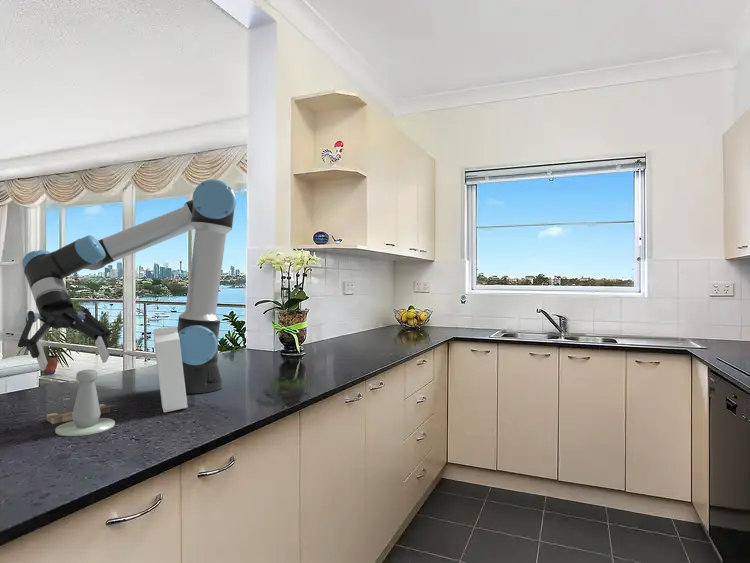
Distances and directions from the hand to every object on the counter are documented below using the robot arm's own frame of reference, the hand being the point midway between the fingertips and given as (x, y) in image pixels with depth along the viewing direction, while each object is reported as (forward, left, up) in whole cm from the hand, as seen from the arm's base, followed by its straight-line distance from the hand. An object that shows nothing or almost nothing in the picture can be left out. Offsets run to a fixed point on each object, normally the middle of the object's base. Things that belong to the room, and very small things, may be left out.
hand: (76, 363), depth 115 cm
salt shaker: (-4, +4, -14) cm, 15 cm away
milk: (-20, -11, -14) cm, 27 cm away
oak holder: (+2, -6, -15) cm, 16 cm away
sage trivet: (-4, +4, -15) cm, 16 cm away
